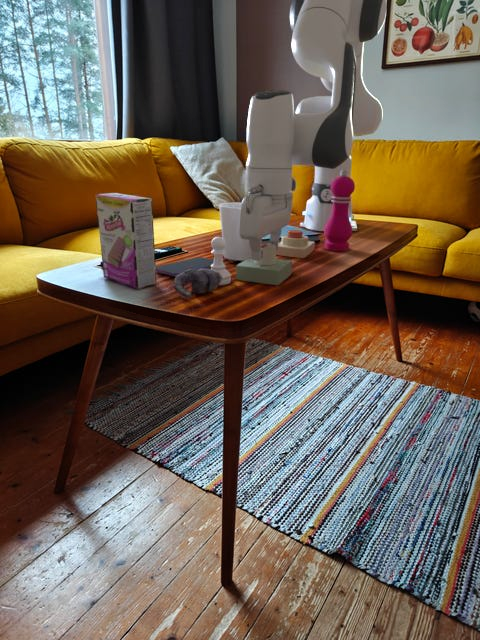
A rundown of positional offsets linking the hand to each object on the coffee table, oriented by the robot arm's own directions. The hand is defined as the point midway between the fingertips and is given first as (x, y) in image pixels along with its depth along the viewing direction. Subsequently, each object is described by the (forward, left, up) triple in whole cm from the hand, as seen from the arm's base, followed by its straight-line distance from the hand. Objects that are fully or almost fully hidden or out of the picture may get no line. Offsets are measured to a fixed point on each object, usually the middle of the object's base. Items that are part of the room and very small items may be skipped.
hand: (265, 254), depth 91 cm
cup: (-11, -10, -5) cm, 16 cm away
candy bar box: (+15, -23, -5) cm, 28 cm away
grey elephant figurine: (+15, -7, -5) cm, 18 cm away
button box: (-25, -1, -5) cm, 25 cm away
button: (-25, -1, -1) cm, 25 cm away
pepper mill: (-34, +8, -5) cm, 35 cm away
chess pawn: (+7, -7, -5) cm, 11 cm away
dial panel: (0, 0, -5) cm, 5 cm away
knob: (0, 0, -2) cm, 2 cm away
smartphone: (+1, -17, -5) cm, 18 cm away
